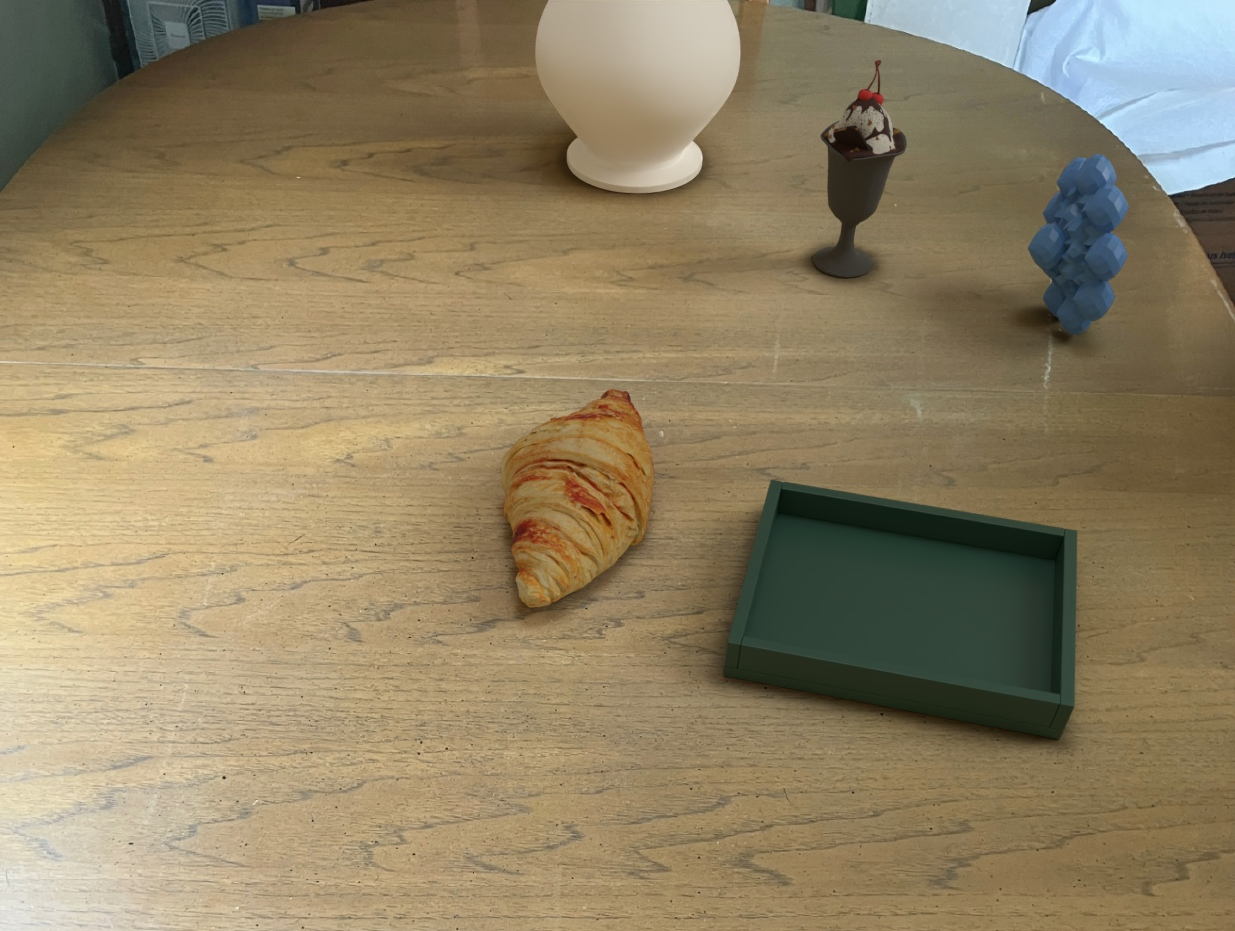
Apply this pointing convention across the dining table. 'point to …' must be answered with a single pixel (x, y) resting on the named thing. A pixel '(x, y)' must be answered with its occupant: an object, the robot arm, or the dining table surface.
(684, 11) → the decorative vase
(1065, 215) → the grapes
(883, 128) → the sundae
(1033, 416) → the dining table surface
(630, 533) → the croissant
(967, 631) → the tray
